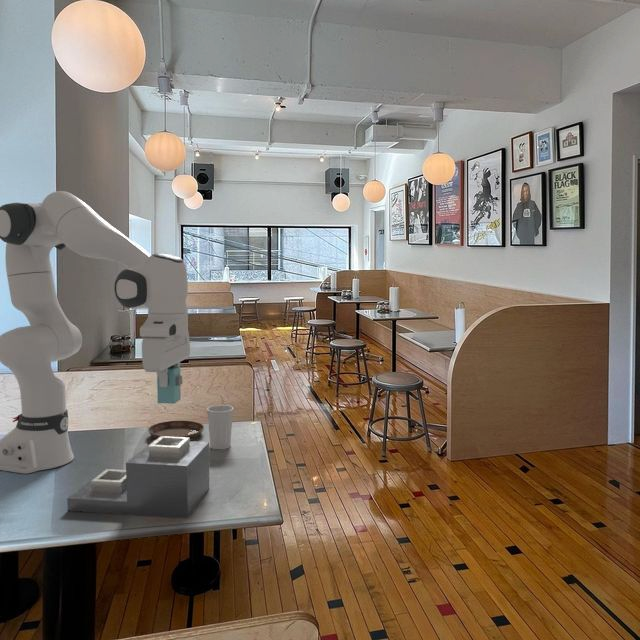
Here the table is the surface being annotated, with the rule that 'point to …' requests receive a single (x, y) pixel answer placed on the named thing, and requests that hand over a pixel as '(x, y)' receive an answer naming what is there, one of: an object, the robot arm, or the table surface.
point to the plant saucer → (176, 429)
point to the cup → (220, 426)
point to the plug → (170, 387)
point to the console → (151, 482)
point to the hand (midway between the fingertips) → (168, 383)
